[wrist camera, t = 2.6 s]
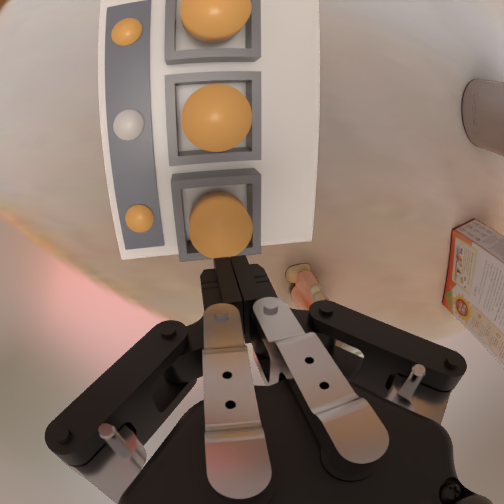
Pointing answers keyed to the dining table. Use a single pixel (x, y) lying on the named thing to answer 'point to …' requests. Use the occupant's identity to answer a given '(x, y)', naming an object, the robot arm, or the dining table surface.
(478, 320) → the cracker box
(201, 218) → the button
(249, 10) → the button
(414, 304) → the dining table surface
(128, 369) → the robot arm
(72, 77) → the dining table surface
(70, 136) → the dining table surface
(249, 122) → the middle button
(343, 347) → the grandmother figurine
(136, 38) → the button console
